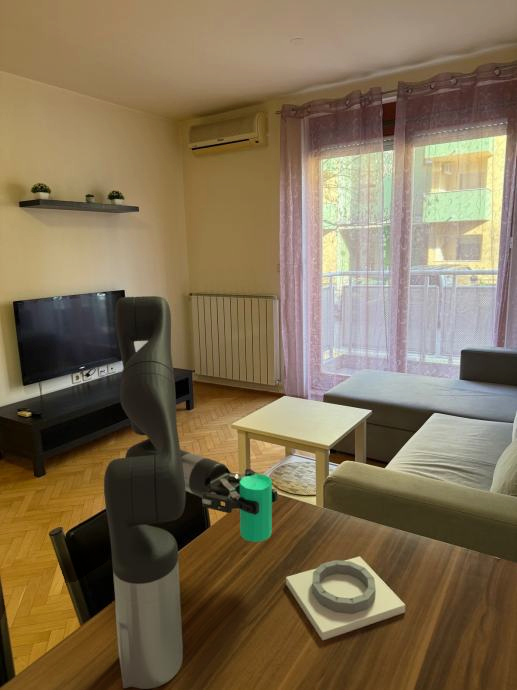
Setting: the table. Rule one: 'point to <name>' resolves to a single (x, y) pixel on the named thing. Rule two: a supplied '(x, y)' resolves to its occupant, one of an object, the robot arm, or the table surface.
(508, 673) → the table surface
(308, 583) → the jig plate
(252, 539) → the candle
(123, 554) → the robot arm
